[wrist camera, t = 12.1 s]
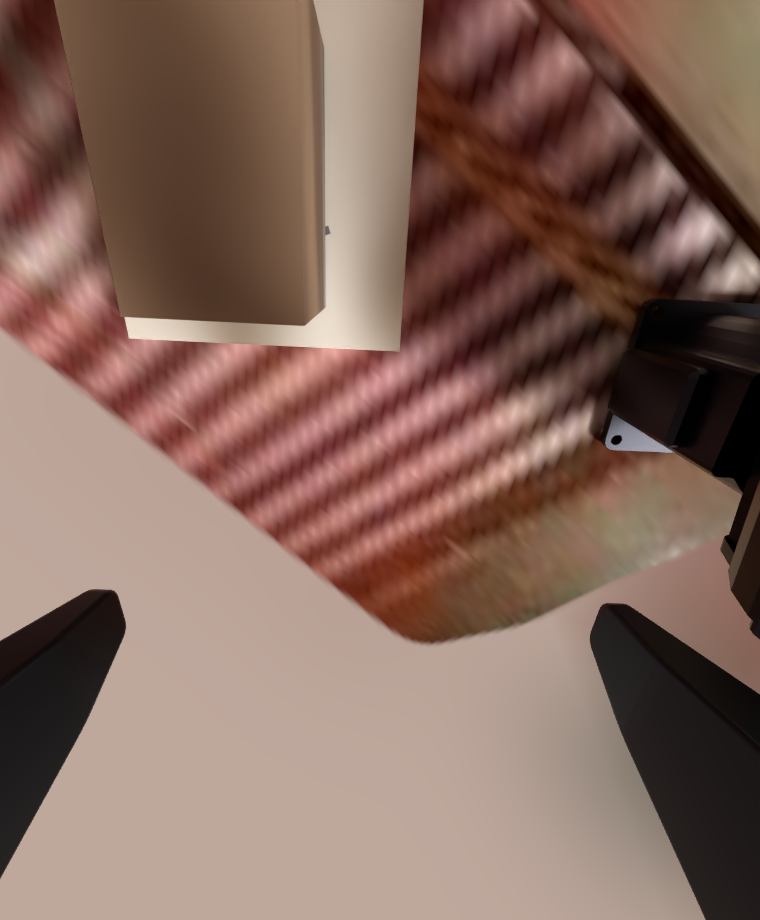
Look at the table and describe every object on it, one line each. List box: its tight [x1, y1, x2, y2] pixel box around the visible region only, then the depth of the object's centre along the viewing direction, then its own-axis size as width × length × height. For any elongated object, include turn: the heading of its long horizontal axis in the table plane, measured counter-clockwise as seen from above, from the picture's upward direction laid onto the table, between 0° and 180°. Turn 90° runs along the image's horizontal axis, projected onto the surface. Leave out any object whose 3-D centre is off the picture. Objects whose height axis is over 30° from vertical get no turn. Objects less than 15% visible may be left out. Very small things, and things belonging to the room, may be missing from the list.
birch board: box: [125, 0, 424, 351], centre depth 14 cm, size 10×10×2 cm
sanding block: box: [54, 0, 326, 326], centre depth 11 cm, size 4×7×5 cm, turn 177°
